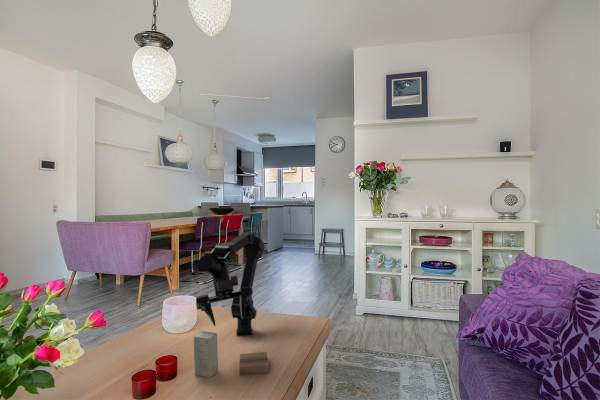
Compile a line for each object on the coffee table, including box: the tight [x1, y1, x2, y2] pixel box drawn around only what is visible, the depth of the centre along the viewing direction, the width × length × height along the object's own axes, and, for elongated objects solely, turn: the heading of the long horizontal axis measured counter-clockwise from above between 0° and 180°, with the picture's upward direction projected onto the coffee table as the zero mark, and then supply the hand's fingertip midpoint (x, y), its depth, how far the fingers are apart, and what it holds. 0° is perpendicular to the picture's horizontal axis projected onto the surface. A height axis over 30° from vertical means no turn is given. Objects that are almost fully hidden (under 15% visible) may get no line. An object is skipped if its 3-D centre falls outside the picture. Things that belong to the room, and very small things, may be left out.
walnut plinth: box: [239, 351, 270, 376], centre depth 105 cm, size 9×9×2 cm
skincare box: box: [193, 330, 219, 378], centre depth 102 cm, size 6×4×12 cm
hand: (229, 322), depth 106 cm, fingers open, 9 cm apart
